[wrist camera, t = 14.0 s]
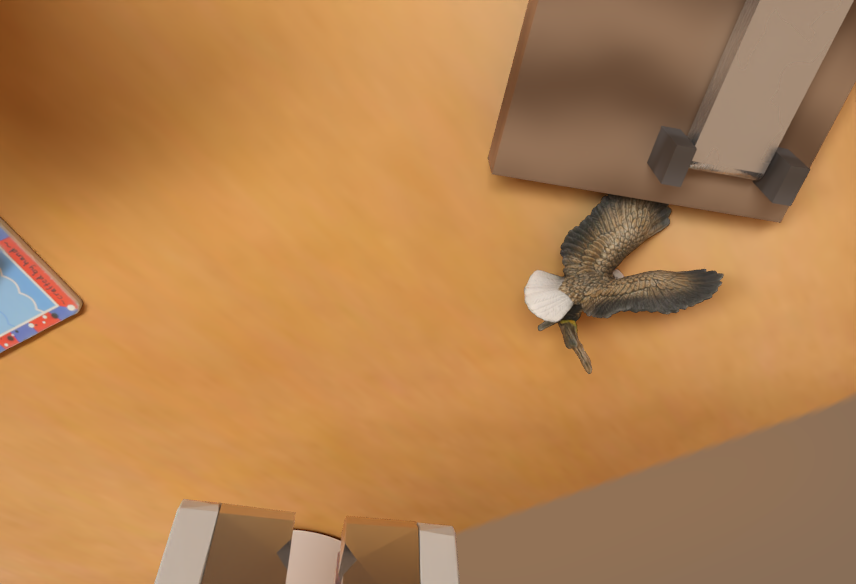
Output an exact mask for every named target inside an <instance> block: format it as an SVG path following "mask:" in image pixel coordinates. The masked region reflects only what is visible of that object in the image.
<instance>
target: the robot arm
mask: <svg viewBox="0 0 856 584" xmlns="http://www.w3.org/2000/svg"><path fill="white" fill-rule="evenodd" d="M295 513H296V512H288V511H280V510H272V509H264V508H256V507H248V506H240V505H232V504H224V503H216V502H206V501H197V500H187V499H183V501H182V502H181V504H180V506H179V508H178V510H177V512H176V516H175V519H174V522H173V525H172V528H171V532H170V535H169V538H168V541H167V545H166V548H165V551H164V554H163V557H162V561H161V564H160V567H159V570H158V573H157V577H156V580H155V583H154V584H460V579H459V568H458V556H457V544H456V533H455V531H454V529H453V527H452V526H449V525H437V524H426V523H416V522H415V521H403V520H391V519H379V518H367V517H355V516H346V518H345V520H344V525H343V530H342V537H341V541H340V540H337V539H335V538H332V537H329V536H326V535H322V534H318V533H314V532H308V531H301V530H293V528H294V520H295Z"/></svg>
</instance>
